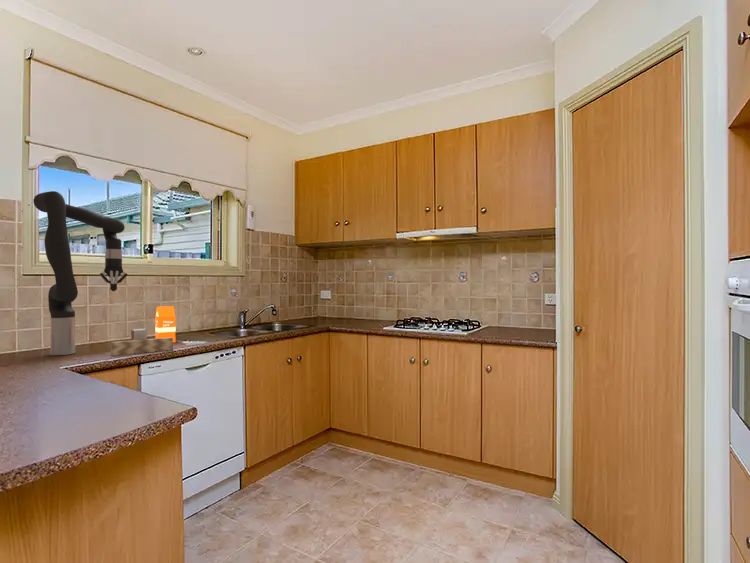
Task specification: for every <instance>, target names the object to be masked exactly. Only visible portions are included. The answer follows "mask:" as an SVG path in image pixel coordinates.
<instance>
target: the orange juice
mask: <svg viewBox="0 0 750 563" xmlns="http://www.w3.org/2000/svg"><path fill="white" fill-rule="evenodd" d="M155 312H156V313H155V318H154V320H155V321H154V322H155V328H154V330H155V332H154V333H155V334H154V336H155V337H154V339H156V338H169V337H172V338H173V343H176V332H177V330H176V328H177V327H176V313H175V307H174V305H171V306H170V305H169V306H167V305H165V306H156V311H155Z"/></svg>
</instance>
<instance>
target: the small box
mask: <svg viewBox="0 0 750 563" xmlns="http://www.w3.org/2000/svg"><path fill="white" fill-rule="evenodd" d="M147 331H148V330H147V329H145V328H134V329H132V328H131V330H130V333H131V334H130V337H131V338H130V341H131V340H143V339H148V338H147V336H148V334H147V333H148V332H147Z"/></svg>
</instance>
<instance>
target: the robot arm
mask: <svg viewBox="0 0 750 563" xmlns="http://www.w3.org/2000/svg"><path fill="white" fill-rule="evenodd" d="M32 203H33V205H34V206H35V208H36V209H37V210H38V211H40V212H43V213H46V216H47V229H46V232H45V235H44V239H43V240H44V249H45V250H44V251H45V255H46V258H47V261H48V263H49V265H50V267H51V268H52V270H53V273H54V278H55V284H53V285H52V286H50V288H49V290H48V298H47V299H48V300H47V301H48V310H49V311H48V312H49V313H50V356H64V355H65V356H66V355H67V356H68V355H71V354H75V353H76V311H75V310H74V309H73V306H72V302H74V301H75V300H76V299H77V297H78V296H79V295H78V294H79V292H78V286H77V283H76V279H75V275H74V270H73V263H72V255H71V247H70V242H69V235H68V234H69V233H68V226H67V218H69V219H71V220H75V221H77V222H81V223H83V224H85V225H87V226H88V225H89V226H91V227H93V228H98V229H102V232H103V236H104V240H105V252H104V254H105V256H104V260H105V261H104V264H105V265H104V269H103V271H102V272H101V273H99V276H100V277H101V278H102V279H103V280H104V282H106V283H108V284H110V285H109V287H110V288H109V289H110V290H111V292H116V291H117V289H118V284H120V283H122V281H124V279H125V278H126V277H127V276H128V273H126V272H125V271H124V269H123V252H122V240H121V238H118V236H117V234H121V233H122V232H124V231H125V229H126V227H125V224H124V222H123V221H122V220H120V219H118V218H114V217H110V216H107V215H102V214H101V213H98V212H96V211H94V210H90V209H88V208H84V207H78V206H74V205H70V204H67V203H66V199H65V198H64V196H63V195H62V194H61V193H60V192H58V191H54V190H51V191H44V192H41V193H38V194H36V195H35V196H34V197H33V202H32ZM106 275H107V277H108V278H107V277H106ZM119 277H120V278H119ZM118 278H119V279H118Z"/></svg>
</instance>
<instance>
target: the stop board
mask: <svg viewBox="0 0 750 563" xmlns="http://www.w3.org/2000/svg"><path fill="white" fill-rule="evenodd" d="M173 343H174V342H173V338H172V337H169V338H156V339H155V338H147V339H143V340H131V339H130V340H121V341H110V356H112V357H115V356H123V355H125V356H127V355H134V353H136V354H142V353H143V354H145V353H144V352H147V353H156V352H155V351H157V352H167V351H166V350H168V351H173V348H174V345H173Z"/></svg>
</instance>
